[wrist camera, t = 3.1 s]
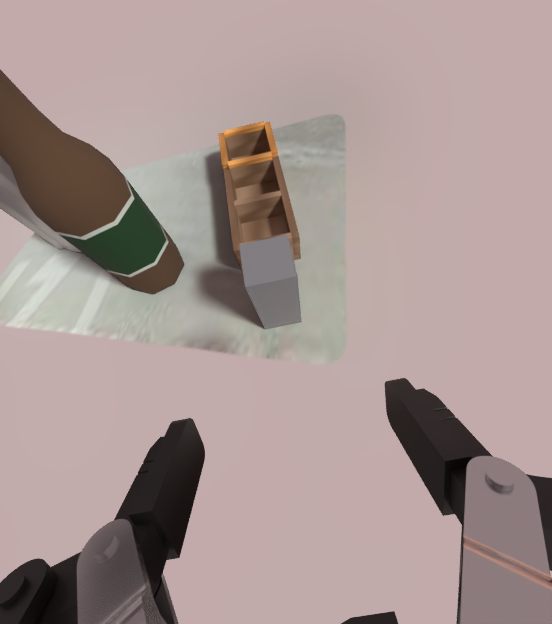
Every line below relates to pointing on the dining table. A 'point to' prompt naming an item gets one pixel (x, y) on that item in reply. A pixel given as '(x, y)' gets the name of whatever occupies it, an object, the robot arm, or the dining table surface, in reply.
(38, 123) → the beer bottle
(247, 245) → the block
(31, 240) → the dining table surface
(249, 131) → the bay rack
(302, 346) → the dining table surface
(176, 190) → the dining table surface
